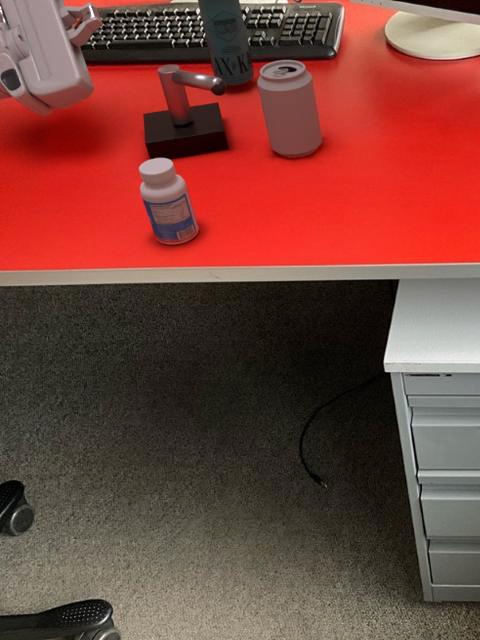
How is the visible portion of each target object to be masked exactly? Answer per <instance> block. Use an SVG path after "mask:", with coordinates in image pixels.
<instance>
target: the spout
mask: <svg viewBox="0 0 480 640" xmlns="http://www.w3.org/2000/svg"><path fill="white" fill-rule="evenodd" d="M157 74H158V78H159V81H160V85H161V89H162V92H163V95H164V99H165V102H166V106H167V110H169V113H170V117H171V120H172V123H173V124H175V125H184V124H188V123H190V122H192V120H193V116H192V112H191V109H190V107H191V105H190V101H189V97H188V94H187V90H186V87H189V88H194V89H199V90H204V91H209V92H211V93H212V94H213V95H215V96H217V97H221V96H223V95H225V94H226V92H227V90H228V85H226V84H225V82H224V81H222V80H221V79H220V78H219V77H215V76H214V75H209V74H204V73H199V72H193V71H188V70H184V69H183V70H182V69H181V67H180V66H179V65H177V64H165V65H164V64H163V65H162V66H159V67H158V68H157Z"/></svg>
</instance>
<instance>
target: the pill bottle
mask: <svg viewBox="0 0 480 640" xmlns="http://www.w3.org/2000/svg"><path fill="white" fill-rule="evenodd" d="M138 171H139V175H140V178H141V180H142V182H141V184H140V186H139V192H140V196H141V200H142V202H143V205H144V208H145V210H146V214H147V217H148V219H149V223H150V226H151V229H152V232H153V235H154V237H155V239H156V240H157V241H158V242H159V243H161V244H163V245H170V246H171V245H172V246H174V245H175V246H176V245H182V244H184V243H187V242H189V241H191V240H192V239H193V238H195V237H196V236H197V235H198V233H199V229H200V228H199V224H198V221H197V217H196V213H195V211H194V207H193V204H192V201H191V197H190V193H189V191H188V187H187V184H186V181H185V179H184V178H183V177H182V176H181V175H179V174H177V171H176V168H175V164H174V162H173V161H172V159H167V158H155V159H151V160H150V159H147V160H145V161H143V162H142V163H141V164H140V165H139V167H138Z"/></svg>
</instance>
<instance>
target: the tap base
mask: <svg viewBox="0 0 480 640" xmlns="http://www.w3.org/2000/svg"><path fill="white" fill-rule="evenodd" d="M190 109H191V112H192V116H193V120H192V122H190V123H188V124H184V125H175V124H173V123H172V120H171V117H170V113H169V110H168V109H166V110H159V111H152V112H146V113H142V117H143V130H144V144H145V147H146V151H147V154H148V157H149V160H151V159H155V158H167V159H170V160H173V159H179V158H185V157H192V156H197V155H205V154H209V153H216V152H221V151H227V150H230V146H229V142H228V138H227V133H226V129H225V124H224V119H223V116H222V111H221V107H220V104H219V102H211V103H205V104H198V105H192V106H191V105H190Z"/></svg>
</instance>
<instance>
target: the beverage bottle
mask: <svg viewBox="0 0 480 640" xmlns="http://www.w3.org/2000/svg"><path fill="white" fill-rule="evenodd" d="M197 3H198V6H199V12H200V17H201V21H202V27H203V29H202V31H203V32H204V38H205V41H206V47H207V52H208V57H209V61H210V65H211V69H212V70H211V71H212V72H213V76H215V77H219V78H220V79H221V80H222V81H224V82H225V84H226V86H237V85H242V84H245V83H248V82H250V81H251V80H252V79H253V78H254V72H255V68H254V62H253V57H252V52H251V48H250V44H249V40H248V39H249V38H248V35H247V32H248V31H247V30H246V26H245V23H246V22H245V20H244V17H243V13H242V7H241V3H240V0H197Z"/></svg>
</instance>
